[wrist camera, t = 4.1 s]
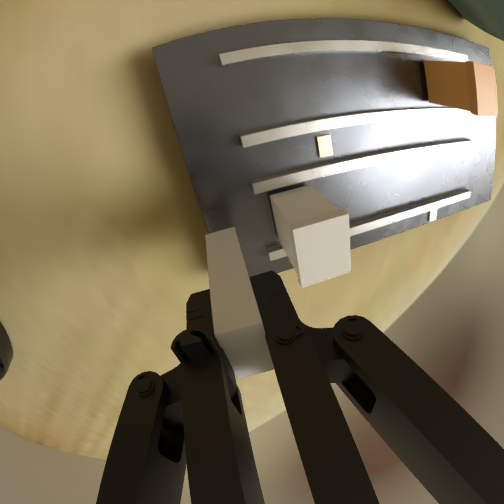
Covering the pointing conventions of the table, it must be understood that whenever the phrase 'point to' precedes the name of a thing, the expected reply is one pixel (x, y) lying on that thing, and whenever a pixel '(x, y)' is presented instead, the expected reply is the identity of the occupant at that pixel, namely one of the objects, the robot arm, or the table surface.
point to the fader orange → (462, 86)
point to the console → (323, 127)
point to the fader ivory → (312, 234)
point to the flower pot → (483, 14)
